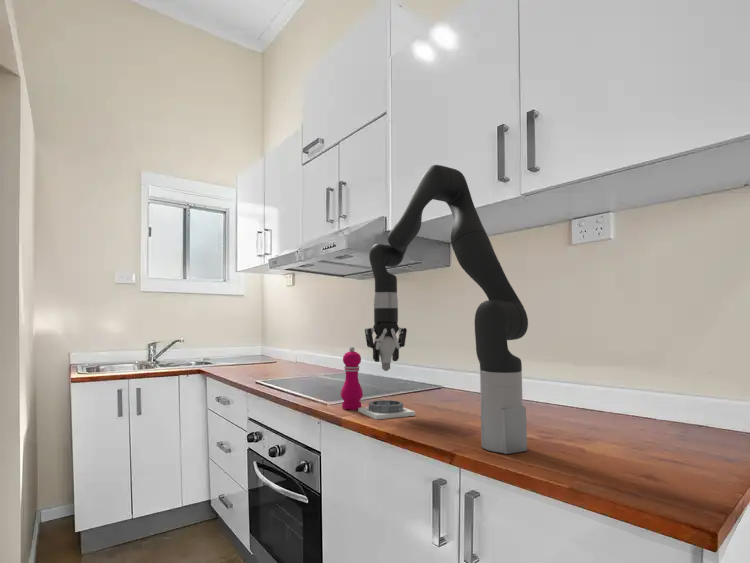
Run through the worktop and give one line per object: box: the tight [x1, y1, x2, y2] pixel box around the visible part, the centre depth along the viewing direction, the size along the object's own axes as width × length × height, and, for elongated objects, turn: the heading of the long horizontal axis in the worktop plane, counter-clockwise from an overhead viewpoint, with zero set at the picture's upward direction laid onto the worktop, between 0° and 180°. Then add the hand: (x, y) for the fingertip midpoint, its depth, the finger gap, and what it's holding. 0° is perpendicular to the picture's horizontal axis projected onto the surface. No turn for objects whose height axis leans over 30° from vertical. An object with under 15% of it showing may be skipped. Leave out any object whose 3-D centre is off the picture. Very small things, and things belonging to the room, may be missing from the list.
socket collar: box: [368, 399, 404, 413], centre depth 143 cm, size 10×10×2 cm
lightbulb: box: [378, 336, 396, 372], centre depth 145 cm, size 6×6×11 cm
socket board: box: [357, 406, 416, 420], centre depth 143 cm, size 13×13×1 cm
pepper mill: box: [340, 346, 364, 411], centre depth 153 cm, size 7×7×20 cm
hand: (386, 361), depth 145 cm, fingers closed on lightbulb, 5 cm apart
